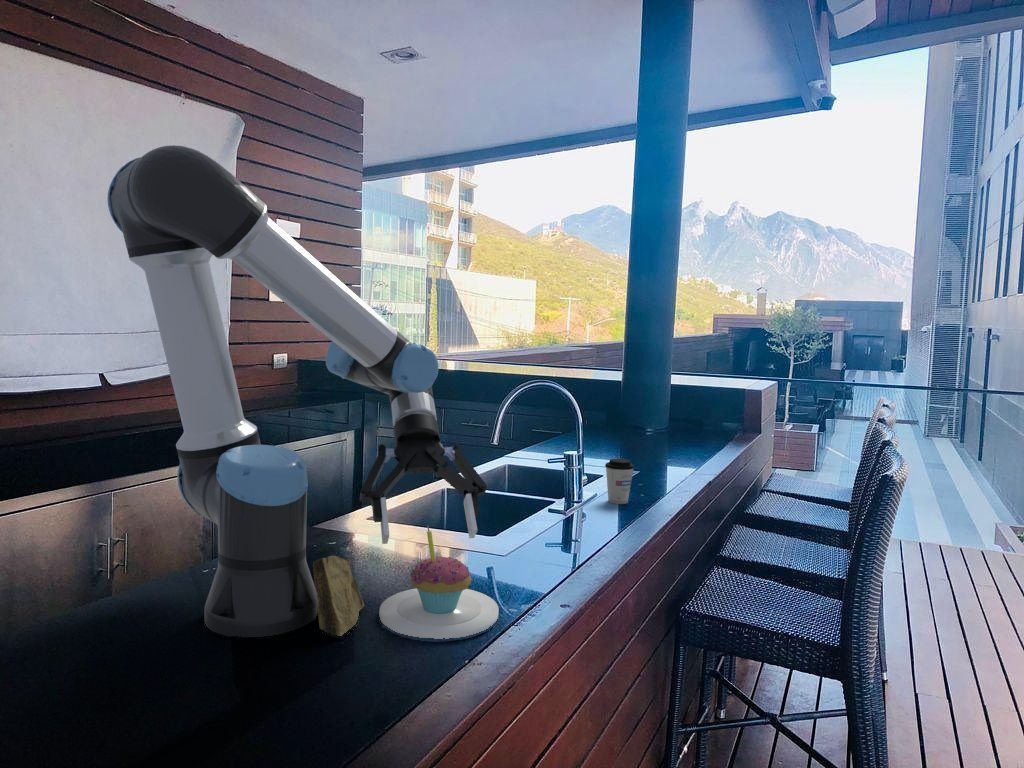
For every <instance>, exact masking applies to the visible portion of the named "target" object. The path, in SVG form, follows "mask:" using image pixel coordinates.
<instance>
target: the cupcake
mask: <svg viewBox="0 0 1024 768" xmlns="http://www.w3.org/2000/svg"><path fill="white" fill-rule="evenodd" d="M426 528H427V531H426V534H427V541H428V550H429V557H430V558H427V559H424V560H422V561H420V562H417V564H416V566H415V567H414V568H412V570H411V573H410V583H411V584H412V585H413V587H414V588H413V589H415V588H417V590H418V592H419V595H420V598H421V602H422V605H423V608H424V610H426V611H428V612H430V613H436V614H443V613H449V612H451V611H453V610H455V609H456V607H457V603H458V600H459V597H460V595H461V593H462V591H463V590H465V589H468V588H469V586H470V585H471V583H472V577H471V572H470V570H469V567H468V566H466V564H464V563H463V562H461V560H458V559H457V558H454V557H450V556H439V557H438V556H436V555H435V547H434V540H433V532H432V530H430V527H429V526H428V525H427V526H426Z"/></svg>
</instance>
